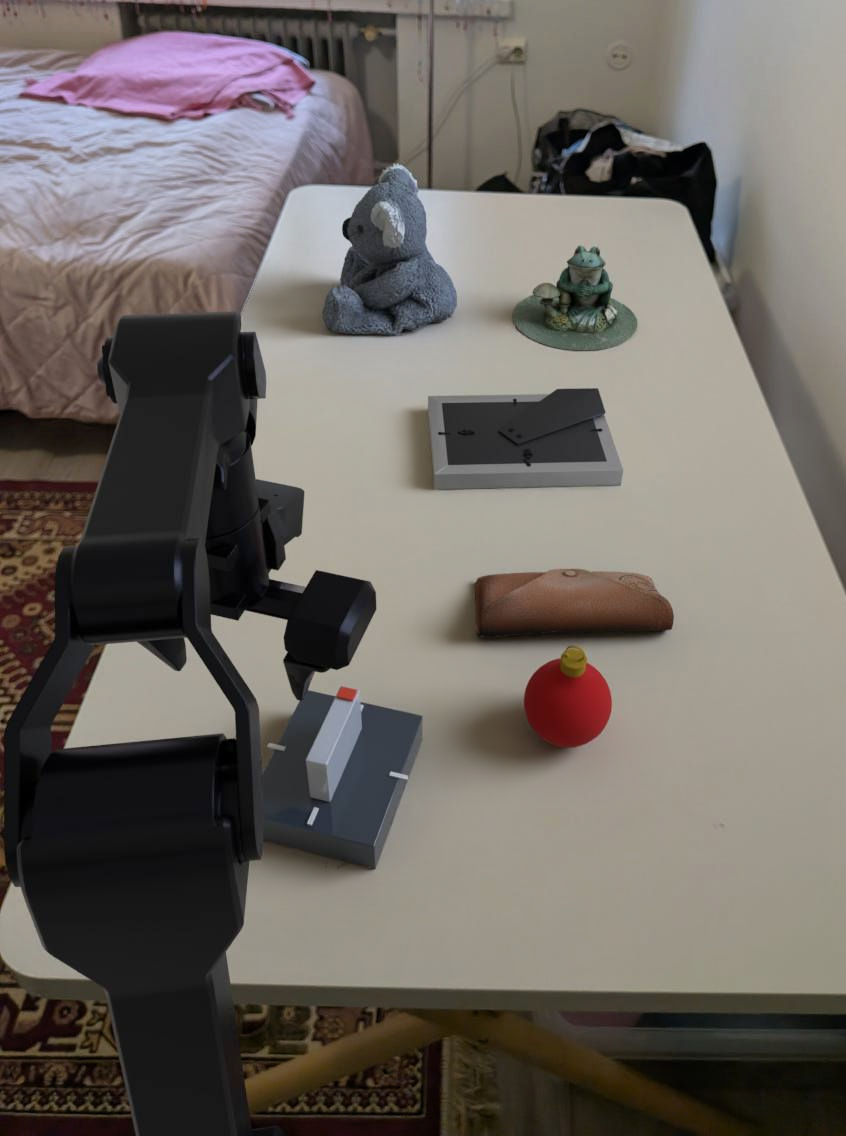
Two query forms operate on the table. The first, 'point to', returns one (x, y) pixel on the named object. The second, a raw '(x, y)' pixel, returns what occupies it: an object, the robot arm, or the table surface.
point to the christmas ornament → (568, 700)
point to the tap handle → (334, 744)
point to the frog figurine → (576, 308)
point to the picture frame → (522, 441)
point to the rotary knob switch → (340, 783)
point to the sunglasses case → (568, 603)
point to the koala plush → (389, 265)
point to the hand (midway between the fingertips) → (241, 680)
